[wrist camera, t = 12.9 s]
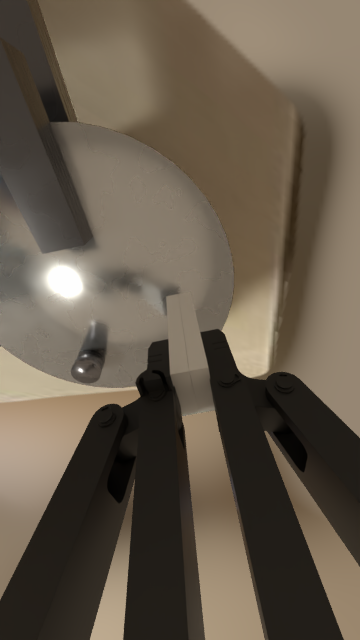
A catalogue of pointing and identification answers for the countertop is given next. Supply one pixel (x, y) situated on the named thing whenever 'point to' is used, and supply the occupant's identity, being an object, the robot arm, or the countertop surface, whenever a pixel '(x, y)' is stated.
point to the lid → (96, 242)
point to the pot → (37, 55)
